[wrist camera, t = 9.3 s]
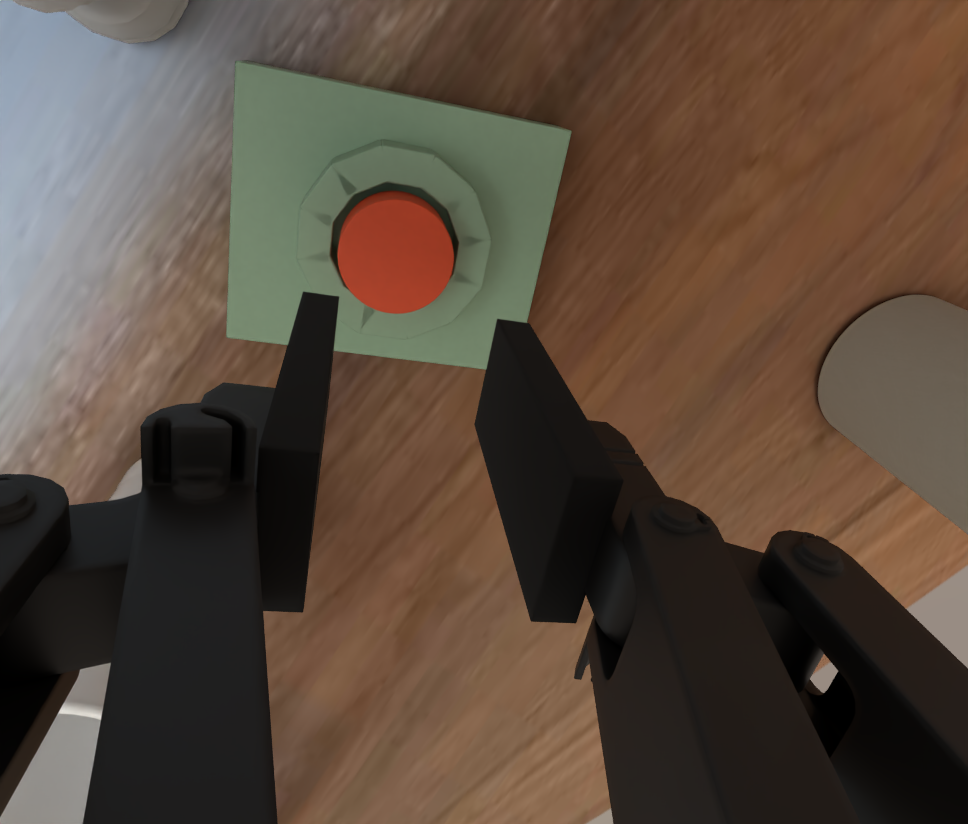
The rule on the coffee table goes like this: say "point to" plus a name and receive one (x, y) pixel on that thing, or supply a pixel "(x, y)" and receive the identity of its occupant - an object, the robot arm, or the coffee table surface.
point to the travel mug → (906, 396)
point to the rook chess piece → (118, 16)
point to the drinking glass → (68, 738)
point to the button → (395, 252)
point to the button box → (372, 169)
